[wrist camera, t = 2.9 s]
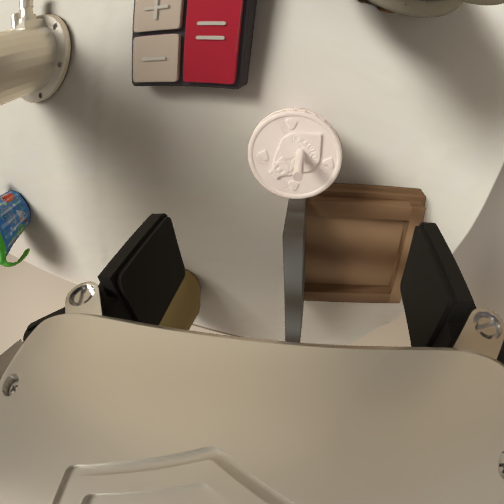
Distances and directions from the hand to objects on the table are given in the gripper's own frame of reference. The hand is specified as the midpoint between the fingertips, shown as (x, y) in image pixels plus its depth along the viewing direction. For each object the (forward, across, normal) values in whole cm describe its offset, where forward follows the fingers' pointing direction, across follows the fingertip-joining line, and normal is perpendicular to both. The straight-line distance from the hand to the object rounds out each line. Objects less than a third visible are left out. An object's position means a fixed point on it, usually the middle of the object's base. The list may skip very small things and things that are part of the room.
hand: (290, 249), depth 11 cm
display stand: (+20, -5, +13) cm, 24 cm away
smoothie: (+20, +1, 0) cm, 20 cm away
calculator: (+20, +9, -13) cm, 26 cm away
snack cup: (+19, +49, +7) cm, 53 cm away
